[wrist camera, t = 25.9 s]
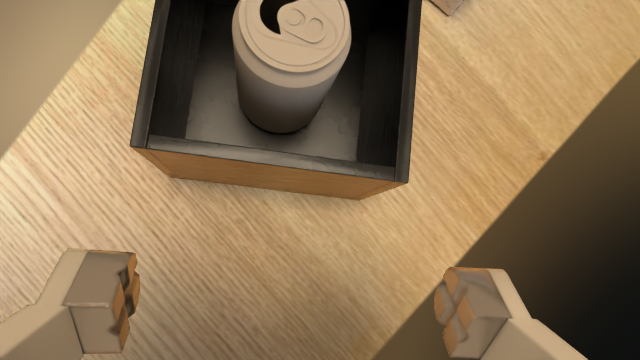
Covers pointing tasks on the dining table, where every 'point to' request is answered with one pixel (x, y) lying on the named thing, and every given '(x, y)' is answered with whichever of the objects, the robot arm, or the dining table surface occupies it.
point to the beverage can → (287, 58)
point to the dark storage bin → (269, 147)
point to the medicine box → (448, 5)
